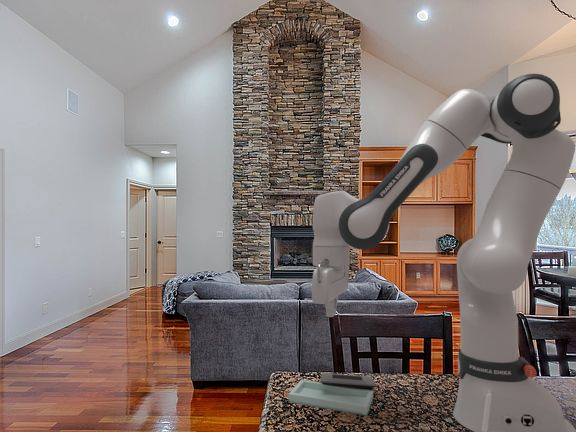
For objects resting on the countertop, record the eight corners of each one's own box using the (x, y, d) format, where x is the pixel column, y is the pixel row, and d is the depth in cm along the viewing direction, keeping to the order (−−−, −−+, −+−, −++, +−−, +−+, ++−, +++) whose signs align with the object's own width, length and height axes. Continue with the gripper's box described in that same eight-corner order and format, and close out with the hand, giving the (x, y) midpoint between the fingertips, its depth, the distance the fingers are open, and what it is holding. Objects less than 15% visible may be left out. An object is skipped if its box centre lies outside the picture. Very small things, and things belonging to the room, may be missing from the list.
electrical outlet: (371, 384, 104) (371, 375, 104) (375, 394, 94) (375, 383, 94) (321, 381, 105) (321, 371, 106) (320, 389, 95) (321, 379, 96)
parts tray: (373, 398, 94) (373, 390, 94) (366, 416, 86) (366, 406, 86) (301, 387, 101) (301, 379, 101) (288, 402, 92) (288, 393, 92)
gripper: (332, 262, 83) (332, 327, 83) (352, 255, 102) (353, 308, 102) (304, 261, 86) (304, 325, 85) (329, 254, 105) (329, 306, 104)
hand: (331, 315), depth 94 cm, fingers closed
